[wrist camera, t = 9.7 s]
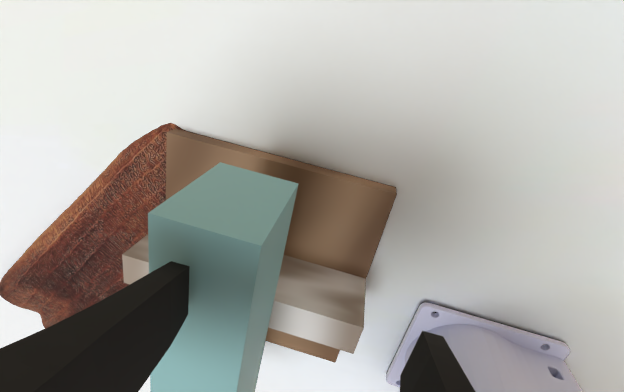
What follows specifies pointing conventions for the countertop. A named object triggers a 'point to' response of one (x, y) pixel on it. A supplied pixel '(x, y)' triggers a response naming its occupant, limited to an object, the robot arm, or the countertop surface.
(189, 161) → the ridge
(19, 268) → the wooden tablet
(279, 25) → the countertop surface
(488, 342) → the robot arm
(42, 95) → the countertop surface
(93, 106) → the countertop surface
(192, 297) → the teal rectangular bar
